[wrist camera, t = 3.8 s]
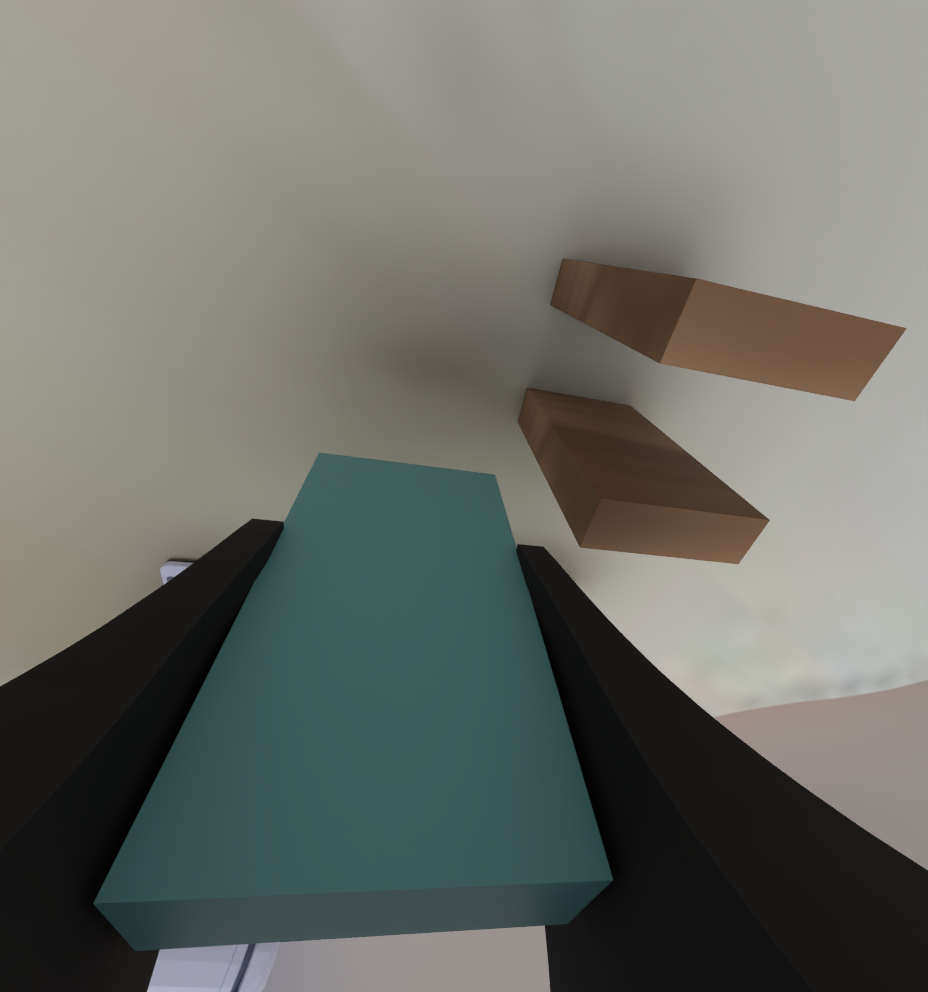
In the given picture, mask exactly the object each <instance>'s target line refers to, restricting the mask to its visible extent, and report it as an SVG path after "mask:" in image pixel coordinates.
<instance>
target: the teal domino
mask: <svg viewBox="0 0 928 992" xmlns="http://www.w3.org/2000/svg"><path fill="white" fill-rule="evenodd" d="M612 881H613V877H612V874H611V871H610V867H609V864H608V860H607V857H606V853H605V850H604V847H603V843H602V840H601V836H600V833H599V829H598V826H597V823H596V819H595V816H594V812H593V809H592V806H591V802H590V799H589V795H588V792H587V788H586V785H585V782H584V778H583V775H582V771H581V768H580V764H579V761H578V758H577V754H576V751H575V747H574V744H573V740H572V737H571V734H570V730H569V727H568V723H567V720H566V717H565V713H564V710H563V706H562V703H561V699H560V696H559V693H558V689H557V686H556V682H555V679H554V675H553V672H552V669H551V665H550V662H549V658H548V655H547V651H546V648H545V645H544V641H543V638H542V634H541V631H540V628H539V624H538V621H537V617H536V614H535V610H534V607H533V604H532V600H531V597H530V593H529V590H528V588H527V585H526V583H525V580H524V576H523V573H522V569H521V566H520V562H519V559H518V556H517V552H516V545H515V542H514V538H513V535H512V532H511V528H510V525H509V521H508V518H507V515H506V511H505V508H504V504H503V501H502V497H501V494H500V491H499V487H498V484H497V480H496V477H495V475H493V474H485V473H477V472H469V471H461V470H453V469H445V468H437V467H429V466H421V465H413V464H405V463H397V462H389V461H381V460H373V459H365V458H357V457H349V456H341V455H333V454H325V453H319V454H318V456H317V458H316V460H315V462H314V464H313V466H312V468H311V470H310V472H309V474H308V476H307V478H306V480H305V482H304V484H303V486H302V488H301V490H300V492H299V494H298V496H297V498H296V500H295V502H294V504H293V506H292V508H291V510H290V512H289V514H288V516H287V518H286V520H285V522H284V529H283V531H282V533H281V535H280V537H279V539H278V541H277V543H276V545H275V548H274V550H273V552H272V554H271V556H270V558H269V560H268V562H267V563H266V565H265V566H264V568H263V569H262V571H261V573H260V574H259V576H258V577H257V579H256V580H255V582H254V584H253V586H252V588H251V590H250V592H249V594H248V596H247V598H246V600H245V602H244V604H243V606H242V608H241V610H240V612H239V614H238V616H237V618H236V620H235V622H234V624H233V626H232V628H231V630H230V632H229V634H228V636H227V638H226V640H225V642H224V644H223V646H222V648H221V650H220V652H219V654H218V656H217V658H216V660H215V662H214V664H213V666H212V668H211V670H210V672H209V674H208V675H207V677H206V679H205V681H204V683H203V685H202V687H201V689H200V691H199V693H198V695H197V697H196V699H195V701H194V703H193V705H192V707H191V709H190V711H189V713H188V715H187V717H186V719H185V721H184V723H183V725H182V727H181V729H180V731H179V733H178V735H177V737H176V739H175V741H174V743H173V745H172V747H171V749H170V751H169V753H168V755H167V757H166V759H165V761H164V763H163V765H162V767H161V769H160V771H159V773H158V775H157V777H156V779H155V781H154V783H153V785H152V787H151V789H150V791H149V793H148V795H147V797H146V799H145V801H144V803H143V805H142V807H141V809H140V811H139V813H138V815H137V817H136V819H135V821H134V823H133V825H132V827H131V829H130V831H129V833H128V835H127V837H126V839H125V841H124V843H123V845H122V847H121V849H120V851H119V853H118V855H117V857H116V859H115V861H114V863H113V865H112V867H111V869H110V871H109V873H108V875H107V877H106V879H105V881H104V883H103V885H102V887H101V889H100V891H99V893H98V895H97V897H96V899H95V901H94V903H93V904H94V905H95V906H96V907H97V909H98V910H99V911H100V912H101V913H102V914H103V915H104V916H105V917H106V919H107V920H108V921H109V922H110V923H111V924H112V925H113V926H114V928H115V929H116V930H117V931H118V932H119V933H120V934H121V935H122V937H123V938H124V939H125V940H126V941H127V942H128V943H129V944H130V945H131V947H132V948H133V949H134V950H135V951H146V950H162V949H178V948H194V947H209V946H225V945H241V944H257V943H273V942H289V941H303V940H320V939H336V938H352V937H367V936H384V935H400V934H416V933H431V932H446V931H462V930H478V929H493V928H494V929H495V928H511V927H525V926H526V927H527V926H542V925H559V924H568V923H569V922H570V921H571V920H572V919H573V918H574V917H575V916H576V915H577V914H578V913H579V912H580V911H581V910H582V909H584V908H585V907H586V906H587V905H588V904H589V903H590V902H591V901H592V900H593V899H594V898H595V897H596V896H597V895H598V894H599V893H600V892H601V891H602V890H603V889H605V888H606V887H607V886H608V885H609V884H610V883H611V882H612Z"/></svg>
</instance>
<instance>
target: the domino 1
mask: <svg viewBox="0 0 928 992" xmlns="http://www.w3.org/2000/svg"><path fill="white" fill-rule="evenodd" d="M550 305H552V306H554V307H555V308H557V309H559V310H561V311H563V312H565V313H567V314H569V315H570V316H572V317H574V318H576V319H578V320H580V321H582V322H583V323H585V324H587V325H589V326H591V327H593V328H595V329H597V330H598V331H600V332H602V333H604V334H606V335H608V336H610V337H612V338H613V339H615V340H617V341H619V342H621V343H623V344H625V345H626V346H628V347H630V348H632V349H634V350H636V351H638V352H640V353H641V354H643V355H645V356H647V357H649V358H651V359H653V360H654V361H656V362H658V363H661V364H666V365H671V366H676V367H681V368H686V369H692V370H697V371H702V372H707V373H712V374H717V375H722V376H728V377H733V378H738V379H743V380H748V381H753V382H759V383H764V384H769V385H774V386H779V387H784V388H790V389H795V390H800V391H805V392H810V393H815V394H821V395H826V396H831V397H836V398H841V399H846V400H852V401H855V400H856V398H857V397H858V396H859V394H860V393H861V391H862V390H863V389H864V387H865V386H866V384H867V383H868V382H869V380H870V379H871V377H872V376H873V375H874V373H875V372H876V370H877V369H878V368H879V366H880V365H881V363H882V362H883V361H884V359H885V358H886V356H887V355H888V354H889V352H890V351H891V349H892V348H893V347H894V345H895V344H896V342H897V341H898V340H899V338H900V337H901V335H902V334H903V333H904V331H905V330H906V328H903V327H899V326H895V325H890V324H886V323H882V322H878V321H873V320H869V319H865V318H861V317H856V316H852V315H848V314H844V313H840V312H835V311H831V310H827V309H823V308H818V307H814V306H810V305H806V304H801V303H797V302H793V301H789V300H785V299H780V298H776V297H772V296H768V295H763V294H759V293H755V292H751V291H746V290H742V289H738V288H734V287H730V286H725V285H721V284H717V283H713V282H708V281H704V280H700V279H695V278H688V277H682V276H675V275H668V274H661V273H655V272H648V271H641V270H635V269H628V268H621V267H614V266H608V265H601V264H594V263H588V262H581V261H574V260H567V259H563V260H562V264H561V267H560V271H559V274H558V278H557V282H556V285H555V289H554V292H553V296H552V300H551V303H550Z"/></svg>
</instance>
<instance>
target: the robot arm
mask: <svg viewBox="0 0 928 992" xmlns="http://www.w3.org/2000/svg"><path fill="white" fill-rule="evenodd" d="M283 529H284V522H281V521H271V520H260V519H251V520H250V521H249V522H247V523H246V524H245V525H243V526H242V527H240V528H239V529H238V530H236V531H235V532H234V533H232V534H231V535H230V536H228V537H227V538H226V539H225V540H223V541H222V542H221V543H219V544H218V545H217V546H215V547H214V548H213V549H211V550H210V551H209V552H207V553H206V554H205V555H203V556H202V557H201V558H200V559H198V560H197V561H196V562H194V563H187V562H175V561H168V562H166V563H164V565H163V566H162V567H161V568H160V573H161V577H162V581H163V586H161V587H160V588H158V589H157V590H156V591H154V592H153V593H151V594H150V595H148V596H147V597H145V598H144V599H142V600H141V601H139V602H138V603H136V604H135V605H133V606H132V607H130V608H129V609H127V610H126V611H124V612H123V613H122V614H120V615H119V616H117V617H116V618H114V619H113V620H111V621H110V622H108V623H107V624H105V625H104V626H102V627H100V628H99V629H97V630H96V631H94V632H92V633H91V634H89V635H88V636H86V637H84V638H83V639H81V640H80V641H78V642H76V643H75V644H73V645H71V646H70V647H68V648H66V649H65V650H63V651H61V652H60V653H58V654H56V655H55V656H53V657H51V658H49V659H48V660H46V661H44V662H42V663H41V664H39V665H37V666H36V667H34V668H32V669H30V670H29V671H27V672H25V673H24V674H22V675H20V676H18V677H17V678H15V679H13V680H11V681H9V682H8V683H6V684H4V685H2V686H0V992H262V991H263V989H264V986H265V984H266V981H267V979H268V977H269V974H270V971H271V969H272V966H273V963H274V960H275V957H276V954H277V951H278V948H279V945H280V942H273V943H257V944H241V945H225V946H209V947H194V948H178V949H162V950H146V951H135V950H134V949H133V948H132V947H131V945H130V944H129V943H128V942H127V941H126V940H125V939H124V938H123V937H122V935H121V934H120V933H119V932H118V931H117V930H116V929H115V928H114V926H113V925H112V924H111V923H110V922H109V921H108V920H107V919H106V917H105V916H104V915H103V914H102V913H101V912H100V911H99V910H98V909H97V907H96V906H95V905H94V904H93V903H94V901H95V899H96V897H97V895H98V893H99V891H100V889H101V887H102V885H103V883H104V881H105V879H106V877H107V875H108V873H109V871H110V869H111V867H112V865H113V863H114V861H115V859H116V857H117V855H118V853H119V851H120V849H121V847H122V845H123V843H124V841H125V839H126V837H127V835H128V833H129V831H130V829H131V827H132V825H133V823H134V821H135V819H136V817H137V815H138V813H139V811H140V809H141V807H142V805H143V803H144V801H145V799H146V797H147V795H148V793H149V791H150V789H151V787H152V785H153V783H154V781H155V779H156V777H157V775H158V773H159V771H160V769H161V767H162V765H163V763H164V761H165V759H166V757H167V755H168V753H169V751H170V749H171V747H172V745H173V743H174V741H175V739H176V737H177V735H178V733H179V731H180V729H181V727H182V725H183V723H184V721H185V719H186V717H187V715H188V713H189V711H190V709H191V707H192V705H193V703H194V701H195V699H196V697H197V695H198V693H199V691H200V689H201V687H202V685H203V683H204V681H205V679H206V677H207V675H208V674H209V672H210V670H211V668H212V666H213V664H214V662H215V660H216V658H217V656H218V654H219V652H220V650H221V648H222V646H223V644H224V642H225V640H226V638H227V636H228V634H229V632H230V630H231V628H232V626H233V624H234V622H235V620H236V618H237V616H238V614H239V612H240V610H241V608H242V606H243V604H244V602H245V600H246V598H247V596H248V594H249V592H250V590H251V588H252V586H253V584H254V582H255V580H256V579H257V577H258V576H259V574H260V573H261V571H262V569H263V568H264V566H265V565H266V563H267V562H268V560H269V558H270V556H271V554H272V552H273V550H274V548H275V545H276V543H277V541H278V539H279V537H280V535H281V533H282V531H283ZM516 552H517V556H518V559H519V562H520V566H521V569H522V573H523V576H524V580H525V583H526V585H527V588H528V590H529V593H530V597H531V600H532V604H533V607H534V610H535V614H536V617H537V621H538V624H539V628H540V631H541V634H542V638H543V641H544V645H545V648H546V651H547V655H548V658H549V662H550V665H551V669H552V672H553V675H554V679H555V682H556V686H557V689H558V693H559V696H560V699H561V703H562V706H563V710H564V713H565V717H566V720H567V723H568V727H569V730H570V734H571V737H572V740H573V744H574V747H575V751H576V754H577V758H578V761H579V764H580V768H581V771H582V775H583V778H584V782H585V785H586V788H587V792H588V795H589V799H590V802H591V806H592V809H593V812H594V816H595V819H596V823H597V826H598V829H599V833H600V836H601V840H602V843H603V847H604V850H605V853H606V857H607V860H608V864H609V867H610V871H611V874H612V877H613V881H612V882H611V883H610V884H609V885H608V886H607V887H606V888H605V889H603V890H602V891H601V892H600V893H599V894H598V895H597V896H596V897H595V898H594V899H593V900H592V901H591V902H590V903H589V904H588V905H587V906H586V907H585V908H584V909H582V910H581V911H580V912H579V913H578V914H577V915H576V916H575V917H574V918H573V919H572V920H571V921H570V922H569V923H568V924H559V925H545V931H546V942H547V952H548V964H549V977H550V990H551V992H928V870H926V869H925V868H923V867H921V866H920V865H918V864H917V863H915V862H914V861H912V860H911V859H909V858H908V857H906V856H904V855H903V854H901V853H900V852H898V851H897V850H895V849H894V848H892V847H890V846H889V845H888V844H886V843H884V842H883V841H881V840H880V839H878V838H877V837H875V836H874V835H872V834H871V833H869V832H867V831H866V830H864V829H863V828H862V827H860V826H859V825H857V824H856V823H854V822H853V821H851V820H850V819H848V818H847V817H846V816H844V815H842V814H841V813H840V812H838V811H837V810H836V809H834V808H833V807H831V806H830V805H828V804H827V803H826V802H824V801H823V800H821V799H820V798H819V797H817V796H816V795H814V794H813V793H811V792H810V791H809V790H807V789H806V788H804V787H803V786H801V785H800V784H799V783H797V782H796V781H795V780H793V779H792V778H791V777H789V776H788V775H786V774H785V773H784V772H782V771H781V770H780V769H778V768H777V767H776V766H774V765H773V764H772V763H770V762H769V761H768V760H766V759H765V758H764V757H762V756H761V755H760V754H758V753H757V752H756V751H755V750H753V749H752V748H751V747H750V746H748V745H747V744H746V743H744V742H743V741H742V740H741V739H739V738H738V737H737V736H736V735H734V734H733V733H732V732H730V731H729V730H728V729H727V728H725V727H724V726H723V725H722V724H720V723H719V722H718V721H717V720H715V719H714V718H713V717H712V716H711V715H709V714H708V713H707V712H706V711H705V710H703V709H702V708H701V707H700V706H699V705H698V704H696V703H695V702H694V701H693V700H692V699H691V698H690V697H688V696H687V695H686V694H685V693H684V692H683V691H682V690H680V689H679V688H678V687H677V686H676V685H675V684H674V683H673V682H671V681H670V680H669V679H668V678H667V677H666V676H665V675H664V674H662V673H661V672H660V671H659V670H658V669H657V668H656V667H655V666H654V665H653V664H652V663H651V662H650V661H649V660H648V659H647V658H646V657H645V656H644V655H643V654H642V653H641V652H640V651H639V650H638V649H637V648H636V647H635V646H634V645H633V644H632V643H631V642H630V641H629V640H627V639H626V638H625V637H624V636H623V634H622V633H621V632H620V631H619V630H618V629H617V628H616V627H615V626H614V625H613V624H612V623H611V622H610V621H609V620H608V619H607V618H606V617H605V615H604V614H603V613H602V612H601V611H600V610H599V609H598V608H597V607H596V606H595V605H594V603H593V602H592V601H591V600H590V599H589V598H588V597H587V596H586V595H585V593H584V592H583V591H582V590H581V589H580V588H579V587H578V585H577V584H576V583H575V582H574V581H573V580H572V579H571V577H570V576H569V575H568V574H567V573H566V572H565V571H564V569H563V568H562V567H561V566H560V565H559V564H558V562H557V561H556V560H555V559H554V558H553V557H552V556H551V555H550V553H549V552H548V551H547V550H546V549H545V548H544V547H540V546H529V545H519V544H518V546H517V549H516ZM173 577H174V578H173Z"/></svg>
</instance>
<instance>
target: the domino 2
mask: <svg viewBox="0 0 928 992" xmlns="http://www.w3.org/2000/svg"><path fill="white" fill-rule="evenodd" d="M518 424H519V426H520V428H521V430H522V432H523V434H524V436H525V438H526V440H527V442H528V444H529V446H530V448H531V450H532V452H533V454H534V456H535V458H536V460H537V462H538V464H539V466H540V468H541V470H542V472H543V474H544V476H545V478H546V480H547V482H548V484H549V486H550V488H551V490H552V492H553V494H554V496H555V498H556V500H557V502H558V504H559V506H560V508H561V510H562V512H563V514H564V516H565V518H566V520H567V522H568V524H569V526H570V528H571V530H572V532H573V534H574V536H575V538H576V540H577V542H578V544H579V546H580V547H582V548H591V549H601V550H610V551H619V552H629V553H638V554H648V555H657V556H667V557H676V558H686V559H695V560H705V561H714V562H724V563H733V564H739V562H740V561H741V560H742V558H743V557H744V555H745V554H746V553H747V551H748V550H749V548H750V547H751V546H752V544H753V543H754V542H755V540H756V539H757V537H758V536H759V535H760V533H761V532H762V530H763V529H764V528H765V526H766V525H767V523H768V522H769V521H770V520H769V519H768V518H766V517H765V516H764V515H763V514H762V513H760V512H759V511H758V510H757V509H755V508H754V507H753V506H752V505H751V504H749V503H748V502H747V501H746V500H745V499H743V498H742V497H741V496H740V495H738V494H737V493H736V492H735V491H734V490H732V489H731V488H730V487H729V486H727V485H726V484H725V483H724V482H723V481H721V480H720V479H719V478H718V477H717V476H715V475H714V474H713V473H712V472H710V471H709V470H708V469H707V468H706V467H704V466H703V465H702V464H701V463H699V462H698V461H697V460H696V459H695V458H693V457H692V456H691V455H690V454H689V453H687V452H686V451H685V450H684V449H682V448H681V447H680V446H679V445H678V444H676V443H675V442H674V441H673V440H671V439H670V438H669V437H668V436H667V435H665V434H664V433H663V432H662V431H661V430H659V429H658V428H657V427H656V426H654V425H653V424H652V423H651V422H650V421H648V420H647V419H646V418H645V417H643V416H642V415H641V414H640V413H639V412H637V411H636V410H635V409H634V408H633V407H631V406H628V405H623V404H617V403H611V402H605V401H599V400H594V399H588V398H582V397H576V396H570V395H564V394H559V393H553V392H547V391H541V390H535V389H530V388H527V390H526V394H525V397H524V401H523V405H522V408H521V412H520V415H519V419H518Z"/></svg>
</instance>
